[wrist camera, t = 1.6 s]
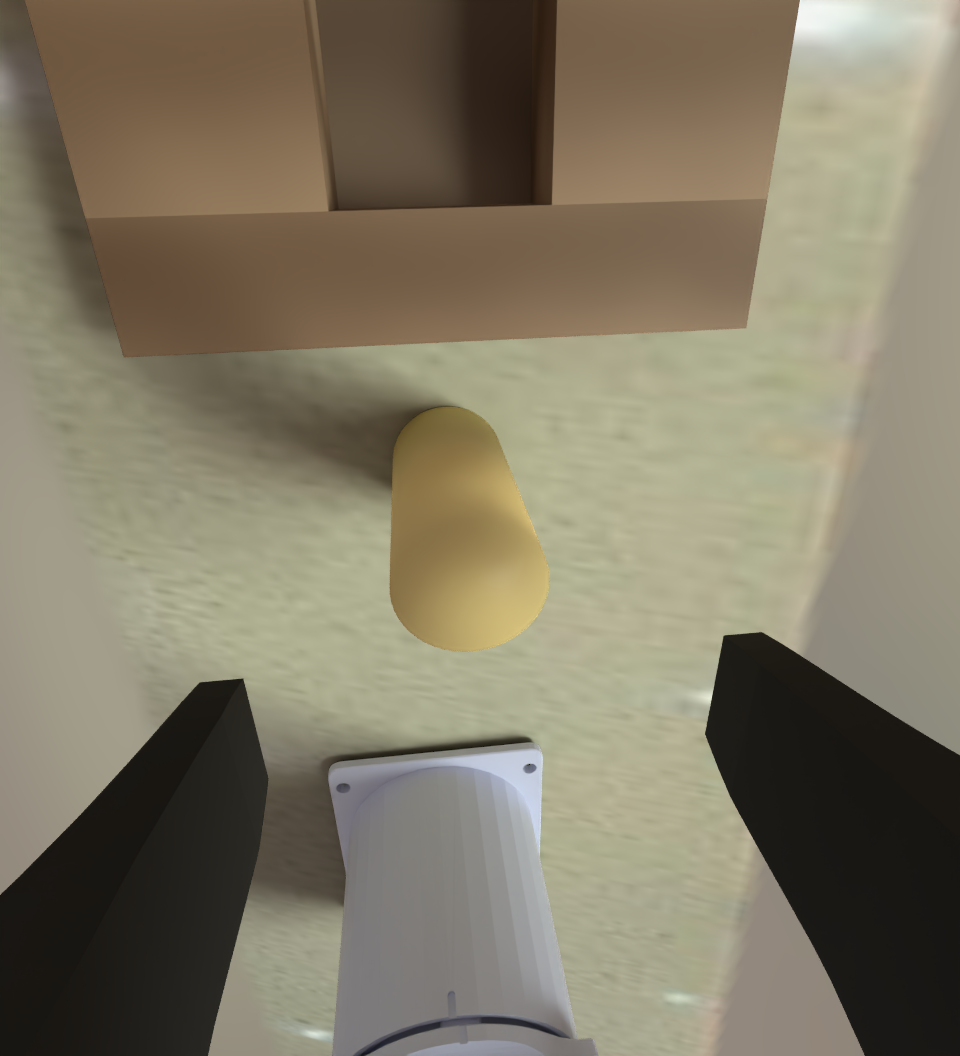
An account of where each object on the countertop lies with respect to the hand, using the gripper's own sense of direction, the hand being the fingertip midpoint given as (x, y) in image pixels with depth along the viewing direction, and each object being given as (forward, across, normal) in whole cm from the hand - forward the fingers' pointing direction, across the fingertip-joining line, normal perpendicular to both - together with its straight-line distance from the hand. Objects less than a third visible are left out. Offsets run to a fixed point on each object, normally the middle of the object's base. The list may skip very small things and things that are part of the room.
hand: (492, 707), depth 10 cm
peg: (+10, 0, 0) cm, 10 cm away
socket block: (+10, 0, -9) cm, 14 cm away
